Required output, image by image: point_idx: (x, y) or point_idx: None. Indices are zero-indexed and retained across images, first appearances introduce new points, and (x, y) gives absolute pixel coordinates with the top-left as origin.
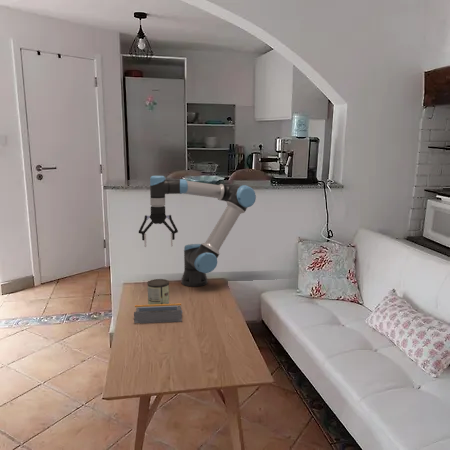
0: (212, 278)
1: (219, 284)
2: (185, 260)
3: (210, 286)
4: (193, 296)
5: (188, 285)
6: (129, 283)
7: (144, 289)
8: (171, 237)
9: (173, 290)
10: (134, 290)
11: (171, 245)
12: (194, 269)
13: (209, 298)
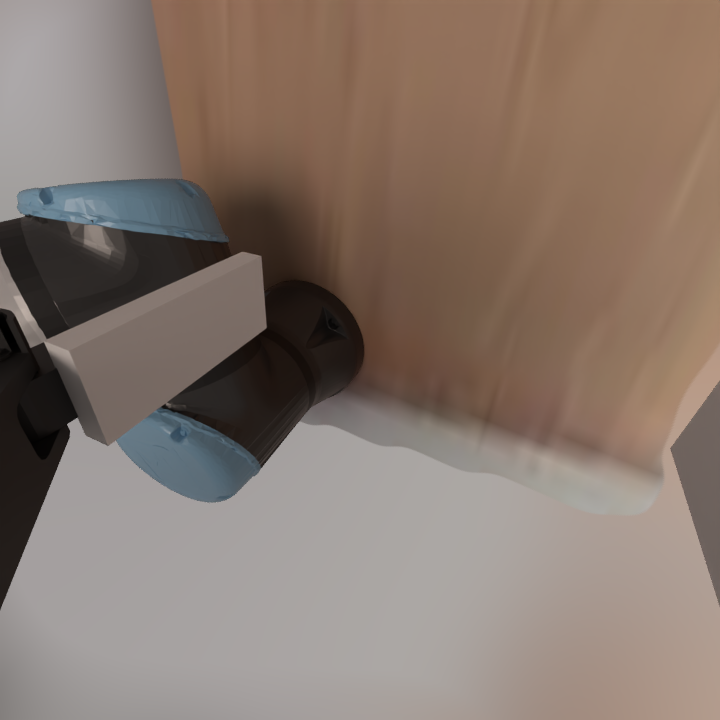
0: None
1: None
2: (280, 401)
3: None
4: (328, 114)
5: (335, 299)
6: (631, 461)
7: (580, 334)
8: (132, 313)
9: (419, 260)
10: (653, 338)
11: (246, 260)
12: (262, 333)
13: (249, 51)
